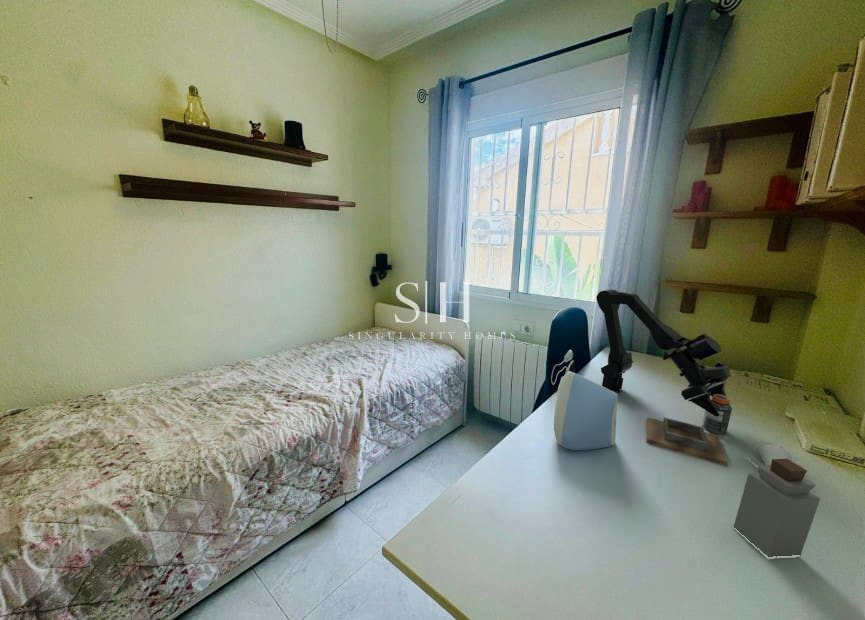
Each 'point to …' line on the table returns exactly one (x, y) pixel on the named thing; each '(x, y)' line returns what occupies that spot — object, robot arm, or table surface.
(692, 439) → the socket plate
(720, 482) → the table surface
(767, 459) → the woman figurine
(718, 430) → the pill bottle
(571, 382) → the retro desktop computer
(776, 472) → the perfume bottle
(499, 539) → the table surface
